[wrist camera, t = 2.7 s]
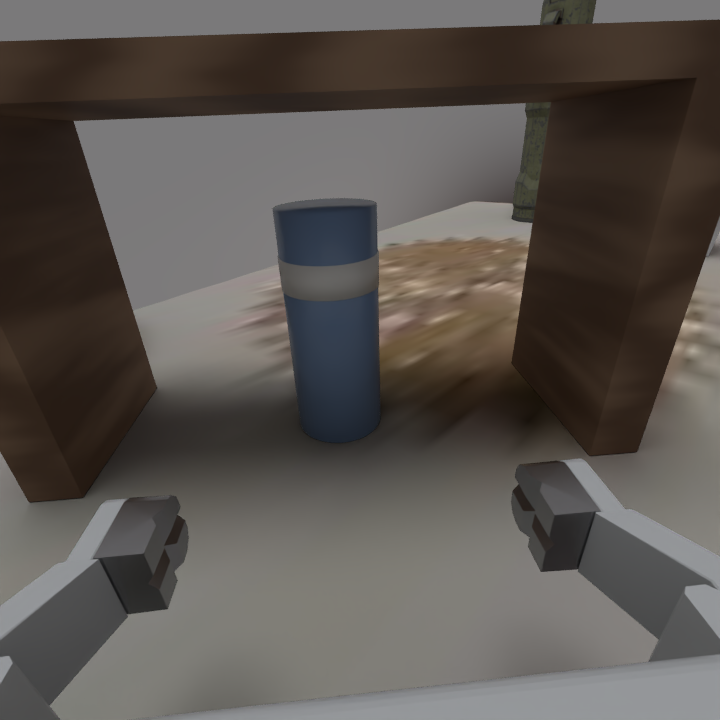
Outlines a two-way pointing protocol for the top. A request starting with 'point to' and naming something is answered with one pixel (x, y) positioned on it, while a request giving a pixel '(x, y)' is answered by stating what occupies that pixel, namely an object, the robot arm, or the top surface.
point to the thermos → (543, 112)
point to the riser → (356, 92)
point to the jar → (332, 313)
